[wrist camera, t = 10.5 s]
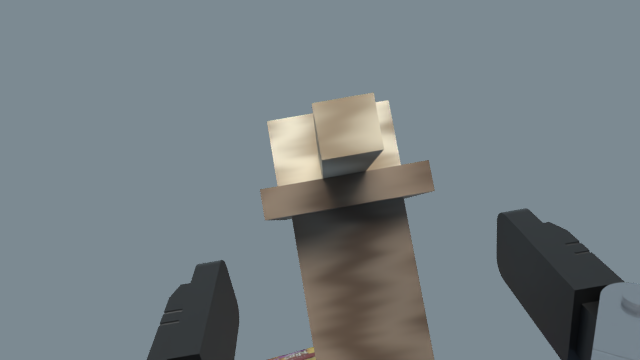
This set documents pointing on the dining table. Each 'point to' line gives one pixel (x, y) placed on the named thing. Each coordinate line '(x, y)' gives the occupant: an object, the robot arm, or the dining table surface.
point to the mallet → (334, 140)
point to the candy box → (298, 355)
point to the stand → (358, 261)
